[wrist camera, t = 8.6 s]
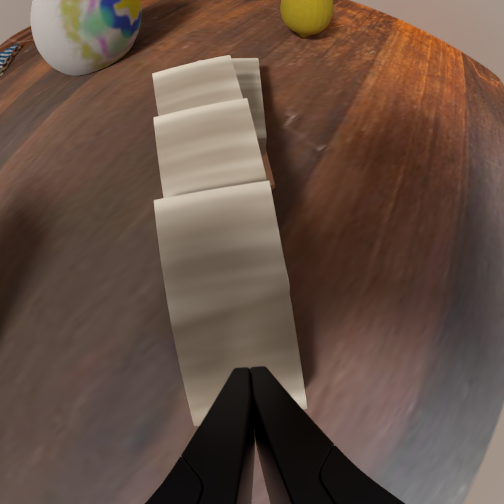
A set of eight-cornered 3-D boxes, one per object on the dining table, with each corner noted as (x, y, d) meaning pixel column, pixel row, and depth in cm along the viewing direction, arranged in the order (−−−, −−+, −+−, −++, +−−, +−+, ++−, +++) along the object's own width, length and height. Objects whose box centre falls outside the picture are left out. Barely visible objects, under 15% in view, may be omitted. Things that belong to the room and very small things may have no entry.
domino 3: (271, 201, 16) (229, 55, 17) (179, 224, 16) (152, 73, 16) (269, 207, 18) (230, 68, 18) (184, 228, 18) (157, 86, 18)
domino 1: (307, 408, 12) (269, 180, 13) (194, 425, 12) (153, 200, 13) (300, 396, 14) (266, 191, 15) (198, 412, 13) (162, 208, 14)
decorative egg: (120, 81, 24) (84, -54, 11) (34, 94, 25) (-11, -7, 11) (163, 29, 29) (149, -74, 16) (84, 40, 30) (59, -46, 16)
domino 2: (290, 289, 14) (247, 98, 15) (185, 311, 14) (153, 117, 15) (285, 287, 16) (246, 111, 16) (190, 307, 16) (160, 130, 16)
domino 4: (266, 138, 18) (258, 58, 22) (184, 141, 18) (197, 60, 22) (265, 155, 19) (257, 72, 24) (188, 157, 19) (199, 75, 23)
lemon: (268, 33, 28) (271, -28, 21) (302, 25, 30) (308, -30, 22) (304, 51, 26) (313, -15, 19) (337, 42, 28) (349, -17, 21)
